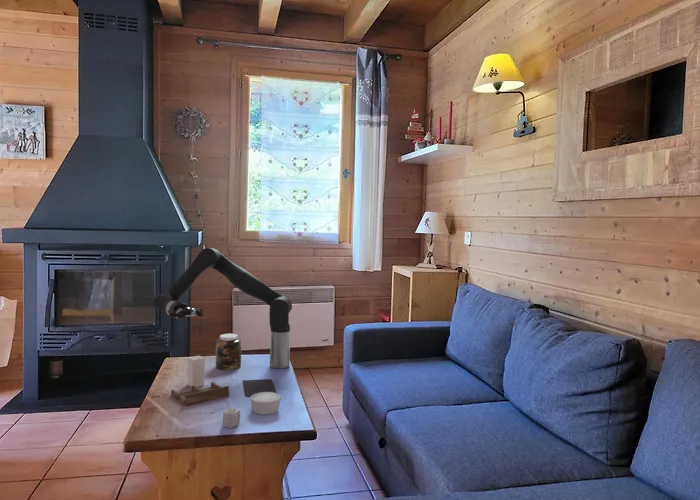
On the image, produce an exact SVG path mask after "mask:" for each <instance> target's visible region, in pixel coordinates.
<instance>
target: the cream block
mask: <svg viewBox="0 0 700 500" xmlns="http://www.w3.org/2000/svg"><path fill="white" fill-rule="evenodd" d="M205 362H206V361H205V357H203V356H201V355H194V356H189V357H187V385H188V386H189V387H191V388H192V386H195V387H196V388H198V387H202V386H205V366H206V365H205Z"/></svg>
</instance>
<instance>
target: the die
mask: <svg viewBox="0 0 700 500" xmlns="http://www.w3.org/2000/svg"><path fill="white" fill-rule="evenodd" d="M240 421H241V412H240V410H239V409H238V408H233V407H232V408H227V409H226V408H225V410H223V414H222V426H224V427H225V428H227V427H229V429H230V428H231V429H232V428H236V427H238V426H239V425H240Z"/></svg>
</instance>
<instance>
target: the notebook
mask: <svg viewBox="0 0 700 500" xmlns="http://www.w3.org/2000/svg"><path fill="white" fill-rule="evenodd" d="M241 381H242V387H243V394H244V397H245V398H251V396H252V395H254V394H256V393H261V392H273V393H277V391H276V388H275V384H274V382H273V379H272V378H262V379H261V378H260V379H246V380H244V379H243V380H241Z"/></svg>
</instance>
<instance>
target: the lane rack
mask: <svg viewBox="0 0 700 500" xmlns="http://www.w3.org/2000/svg"><path fill="white" fill-rule="evenodd" d="M170 394H171V395H170V396H171V397H173V398H175V399H176V400H177V401H178V402H180V403H181V404H182V405H184V406H186V407H188V406H191V405H197V404H202V403H205V402H209V401H214V400H218V399H223V398H228V397H230V386H229V385H226V386H220V384H217V383H216V382H214V381H211V382H210V386H209V387H204V388H198V387H195V386H192V387H191V390H190V391H186V392H180V393H179V392H177V391H176V390H174V389H171V393H170Z"/></svg>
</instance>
